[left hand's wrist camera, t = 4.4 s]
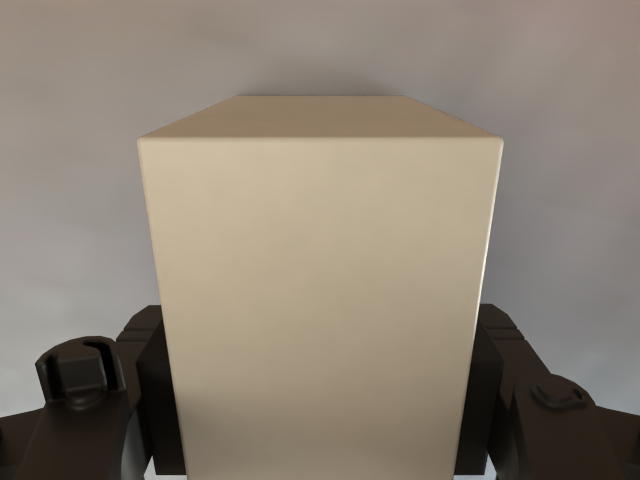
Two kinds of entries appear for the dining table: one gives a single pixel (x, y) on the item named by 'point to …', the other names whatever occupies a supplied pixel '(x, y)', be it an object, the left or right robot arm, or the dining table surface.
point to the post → (320, 282)
